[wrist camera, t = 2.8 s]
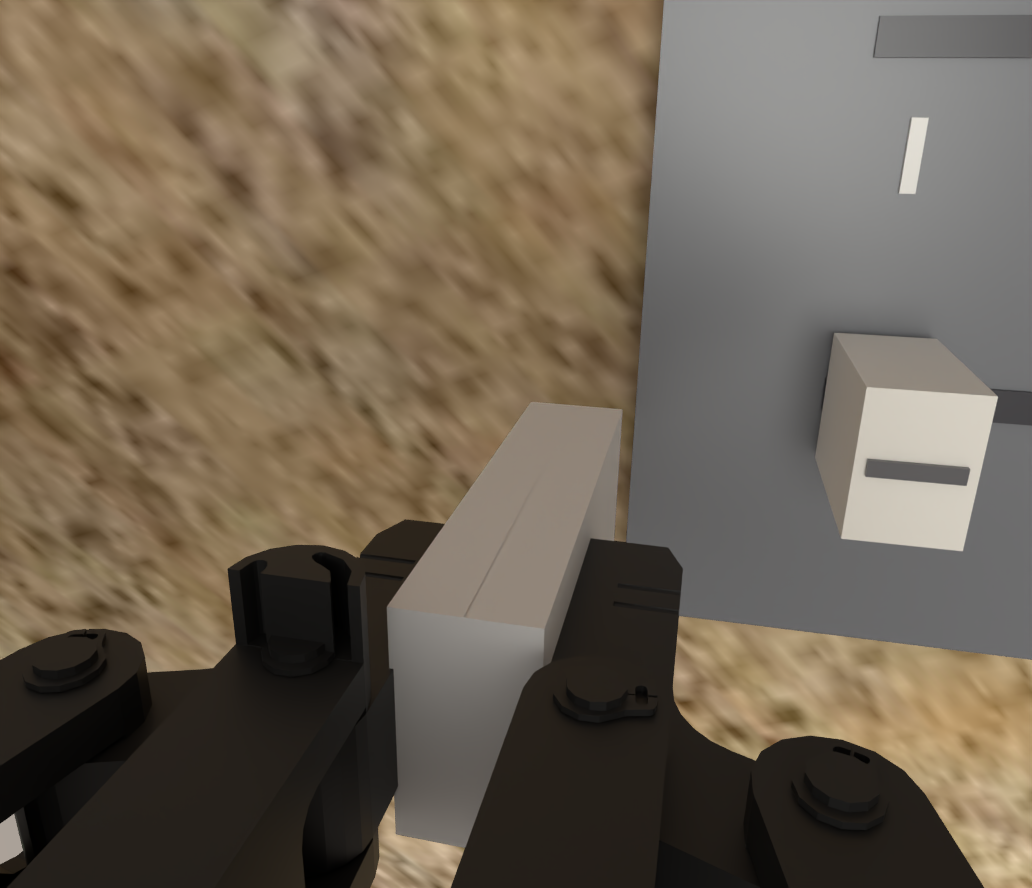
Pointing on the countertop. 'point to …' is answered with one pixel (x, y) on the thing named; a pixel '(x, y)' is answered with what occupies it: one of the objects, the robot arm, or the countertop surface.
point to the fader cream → (902, 440)
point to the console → (833, 301)
